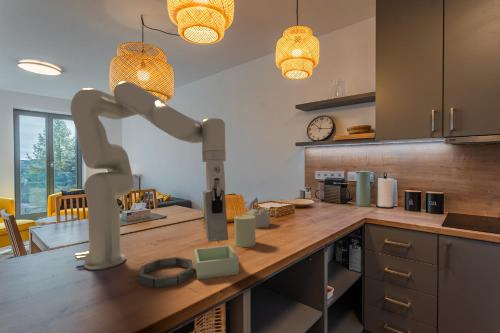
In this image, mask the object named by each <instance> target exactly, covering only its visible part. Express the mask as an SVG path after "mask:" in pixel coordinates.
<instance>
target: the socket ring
mask: <svg viewBox="0 0 500 333" xmlns="http://www.w3.org/2000/svg"><path fill="white" fill-rule="evenodd" d="M175 266H177V267H181V268H183V269H184V270H182V271H180V272H178V273H177V274H171V275H164V276H157V277H156V276H153V275H149V273H151V272H153V271H155V270H158V269H159V268H167V267H175ZM137 275H138V284H139V285H143V286H145V287H148V288H151V289H161V288H165V287H166V288H167V287H173V286H178V285H180V284H182V283H184V282H185V281H187V280H189V279H190V278H192V277H193V276H194V263H193V260H192V259H189V258H185V257H180V256H172V257H164V258H157V259H154V260H152V261H150V262H148V263H145V264H143V265H141V266H140V269H139V272H138V274H137Z"/></svg>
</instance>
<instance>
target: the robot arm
mask: <svg viewBox="0 0 500 333" xmlns="http://www.w3.org/2000/svg"><path fill="white" fill-rule="evenodd" d="M70 114H71V118H72V121H73V123H74V126H75V127H74V128H75V129H76V133H77V138H78V143H79V147H80V151H81V157H82V159H83V160H82V161H83V163H84V165H85V167H87V168H89V169H91V170H106V171H103V172H96V173H94V174H92V175H90V176H89V177H88V178H87V179H85V182H84V186H83V191H84V195H85V199H86V204H87V214H88V215H87V218H88V219H87V220H88V251H86V252H76V253H75V256H74V259H75V260H76V261H78V262H79V261H84V262H83V268H85V269H87V270H91V271H92V270H93V271H95V270H97V271H98V270H104V269H110V268H112V267H116V266H119V265H120V264H122V263H124V262H125V261H126V254H124V253H121V252H122V251H121V250H122V249H121V248H122V247H121V210H120V205H119V204H118V202H117V199H116V198H119V197H124V196H127V195H129V194H130V193H131V192H132V191H133V189H134V176H133V172H132V171H133V170H132V167H131V162H130V160H129V155H128V153H127V151H126V150H125V148H123V147H122V146H120V145H119V144H115V143H110V141H109V139H108V136H107V130H106V129H105V126H104V124H103V123H102V121H101V120H100V118H99V117H102V118H106V119H111V120H122V119H126V118H130V117H132V116H133V117H134V116H136V115H138V116H140V117H141V118H144V119H145V120H147V121H148V122H150V123H151V124H152V125H153V126H155V127H157V128H158V129H159V130H161V131H163V132H164V133H166V134H168V135H169V136H171V137H172V138H175V139H177V140H179V141H182V142H187V143H190V144H191V143H192V144H198V143H201V150H202V151H201V152H202V153H201V157H202V158H201V160H202V162H203V163H204V162H205V176H206V177H205V178H206V179H205V180H206V183H205V184H206V190H208V191H210V192H211V193H212V197H213V200H212V213H213V214H215V213H222V212H223V208H222V194H221V190H222V191H223V192H225V193H226V174H225V164H224V162H227V161H226V124H225V121H224V120H223V119H221V118H217V117H213V118H212V117H209V118H205V119H203V120H202V121H199V120H195V119H194V118H192V117H189V116H187V115H185V114H183V113H181V112H180V111H178V110H176V109H175V108H173V107H171V106H169V105H168V104H167V103H166V102H165V100H163V99H162V98H160V97H158V96H157V95H155V94H153V93H151V92H150V91H149V90H147V89H145V88H143V87H141V86H139V85H138V84H136V83H133V82H130V81H126V80H125V81H121V82H118V83H116V85H115V86H114V89H113V95H112V94H110V93H108V92H105V91H102V90H99V89H97V88H92V87H91V88H90V87H88V88H87V87H86V88H81V89H79V90H78V91H77V92H76V93H75V94H74V96H73V97H72V99H71V102H70ZM214 193H215V195H214Z"/></svg>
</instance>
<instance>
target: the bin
mask: <svg viewBox="0 0 500 333" xmlns="http://www.w3.org/2000/svg"><path fill="white" fill-rule="evenodd" d="M193 249H194V250H193V256H194V257H193V258H194V259H193V260H194V262H193V266H194V269H195V274H196V280H197V281H201V280H206V279H213V278H220V277H226V276H227V277H228V276H234V275H239V274H240V268H239V267H240V266H239V265H240V264H239V256H238V255H237V253H236V252H235V250H234V249H233V247H232V246H231V244H227V245H220V246H211V247H210V246H209V247H203V248H193Z"/></svg>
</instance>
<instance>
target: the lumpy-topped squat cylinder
mask: <svg viewBox="0 0 500 333" xmlns="http://www.w3.org/2000/svg"><path fill="white" fill-rule="evenodd" d="M270 212H271V211H269V210H267V209H263V208H260V209H257V208H253V209H251V210H248V211H247V212H246V213H245V215H253V216H255V229H261V228H260V227H263V228H267V227H270V225H271V223H270V222H271V221H270V220H271V218H270V217H271V216H270V215H271V213H270Z"/></svg>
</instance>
